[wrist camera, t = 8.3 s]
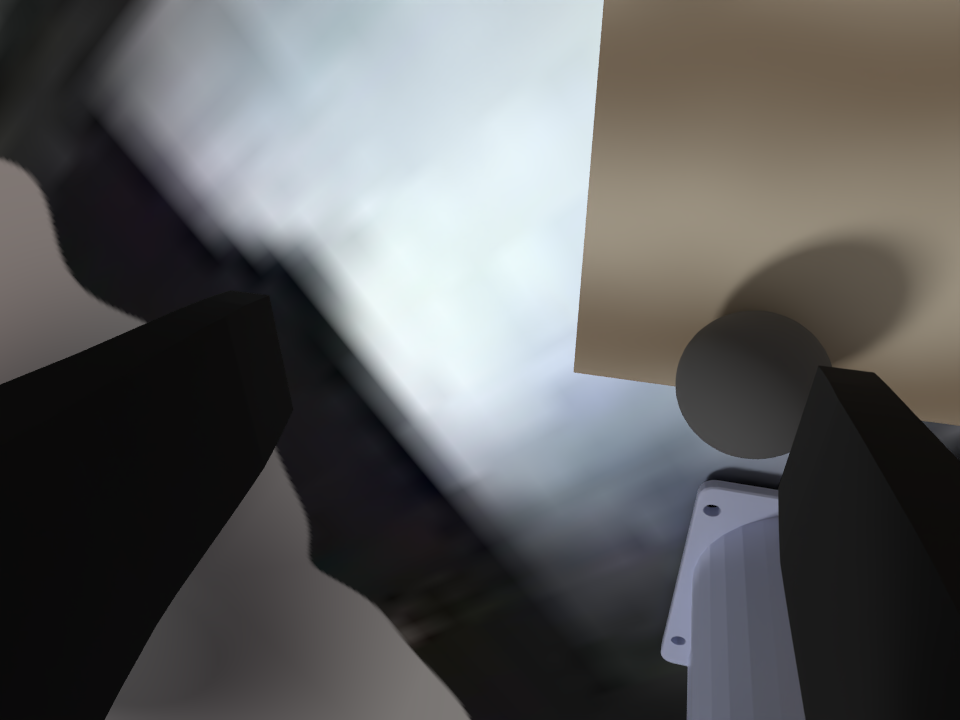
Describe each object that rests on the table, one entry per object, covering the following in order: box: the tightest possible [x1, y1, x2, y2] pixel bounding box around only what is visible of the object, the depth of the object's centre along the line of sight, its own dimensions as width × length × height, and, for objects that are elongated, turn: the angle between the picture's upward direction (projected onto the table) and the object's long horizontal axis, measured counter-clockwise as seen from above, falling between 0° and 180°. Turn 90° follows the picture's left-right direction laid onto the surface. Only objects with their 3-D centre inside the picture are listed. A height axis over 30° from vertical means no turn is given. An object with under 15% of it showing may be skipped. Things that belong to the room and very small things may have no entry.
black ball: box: [675, 310, 832, 459], centre depth 15 cm, size 3×3×3 cm
